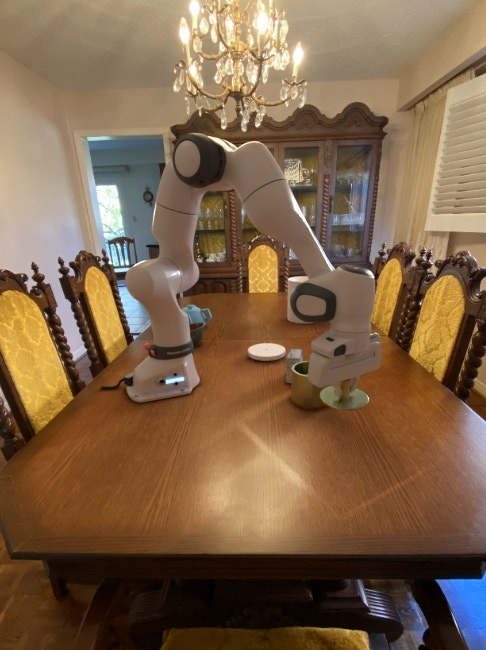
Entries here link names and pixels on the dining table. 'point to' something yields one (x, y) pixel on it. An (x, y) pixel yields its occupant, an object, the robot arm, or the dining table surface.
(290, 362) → the medicine box
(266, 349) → the plastic lid
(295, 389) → the tin
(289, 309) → the canister
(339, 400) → the lid
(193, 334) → the dark green pot
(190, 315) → the teapot
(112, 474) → the dining table surface
